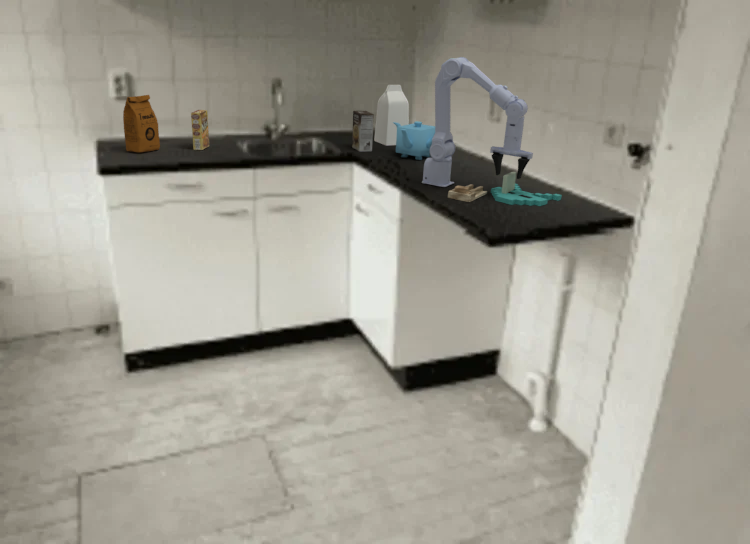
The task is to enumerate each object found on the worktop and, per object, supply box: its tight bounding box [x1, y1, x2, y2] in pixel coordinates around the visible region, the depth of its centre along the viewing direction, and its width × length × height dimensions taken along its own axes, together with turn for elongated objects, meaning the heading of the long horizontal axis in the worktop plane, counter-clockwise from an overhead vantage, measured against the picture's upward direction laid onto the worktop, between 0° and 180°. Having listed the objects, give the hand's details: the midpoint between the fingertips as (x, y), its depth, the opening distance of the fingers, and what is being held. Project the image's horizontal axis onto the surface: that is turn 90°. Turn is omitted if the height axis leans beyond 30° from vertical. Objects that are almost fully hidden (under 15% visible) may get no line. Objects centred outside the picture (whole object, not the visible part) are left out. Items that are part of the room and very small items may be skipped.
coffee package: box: [122, 94, 161, 153], centre depth 267 cm, size 10×12×22 cm
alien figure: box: [490, 183, 563, 207], centre depth 229 cm, size 20×2×20 cm
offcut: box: [454, 185, 470, 193], centre depth 224 cm, size 4×3×2 cm
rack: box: [447, 183, 488, 203], centre depth 228 cm, size 8×14×2 cm, turn 147°
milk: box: [373, 84, 410, 146], centre depth 306 cm, size 12×12×26 cm
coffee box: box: [351, 110, 375, 152], centre depth 291 cm, size 9×6×16 cm
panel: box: [501, 171, 517, 194], centre depth 229 cm, size 2×8×6 cm, turn 148°
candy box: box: [190, 109, 210, 151], centre depth 278 cm, size 9×4×15 cm, turn 174°
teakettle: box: [393, 121, 435, 161], centre depth 281 cm, size 19×19×15 cm
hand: (508, 176), depth 229 cm, fingers open, 7 cm apart
